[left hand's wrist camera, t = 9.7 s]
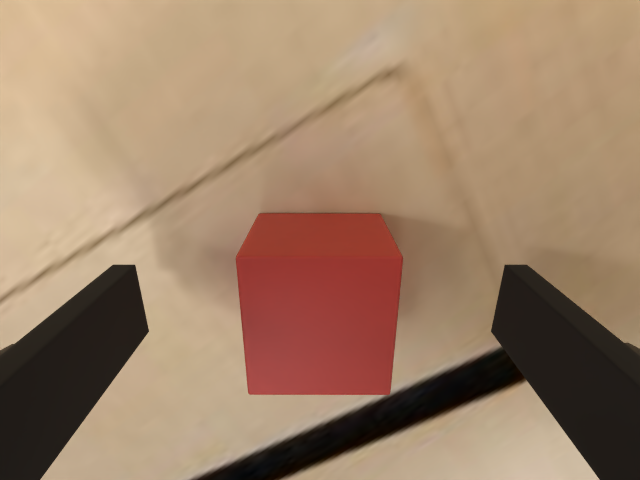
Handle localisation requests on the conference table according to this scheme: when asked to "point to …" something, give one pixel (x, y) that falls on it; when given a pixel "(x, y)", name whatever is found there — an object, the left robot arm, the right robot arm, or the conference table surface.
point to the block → (319, 304)
